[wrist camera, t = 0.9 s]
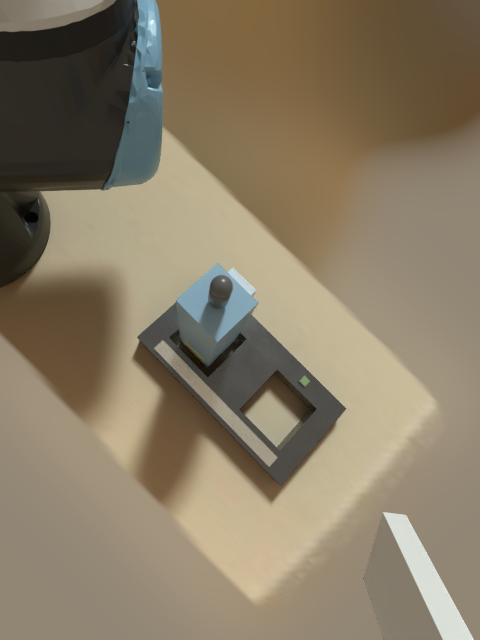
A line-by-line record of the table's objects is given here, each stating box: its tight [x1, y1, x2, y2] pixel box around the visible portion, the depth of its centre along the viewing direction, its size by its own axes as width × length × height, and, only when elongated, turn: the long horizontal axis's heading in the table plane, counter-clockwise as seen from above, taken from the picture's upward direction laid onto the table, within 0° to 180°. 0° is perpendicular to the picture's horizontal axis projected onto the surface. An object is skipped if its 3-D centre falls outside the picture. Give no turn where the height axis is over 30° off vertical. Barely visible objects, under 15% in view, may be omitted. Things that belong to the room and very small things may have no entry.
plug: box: [176, 263, 258, 368], centre depth 31 cm, size 4×5×19 cm
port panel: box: [137, 303, 346, 485], centre depth 38 cm, size 20×10×2 cm, turn 45°
